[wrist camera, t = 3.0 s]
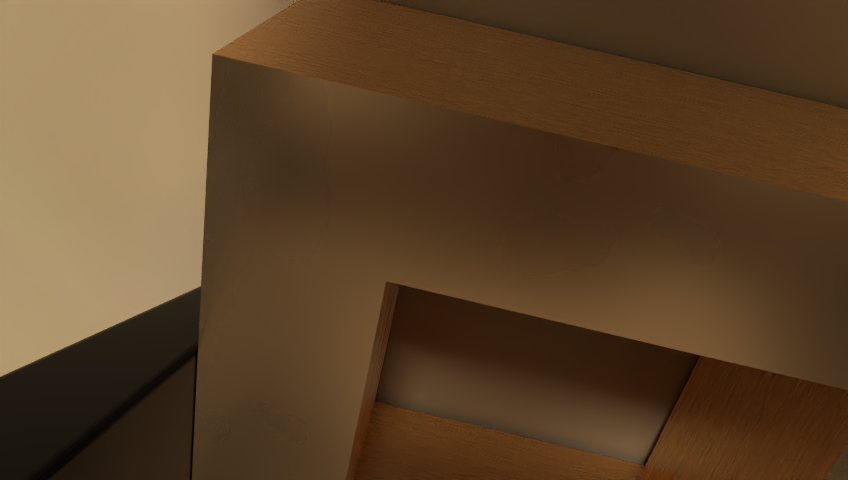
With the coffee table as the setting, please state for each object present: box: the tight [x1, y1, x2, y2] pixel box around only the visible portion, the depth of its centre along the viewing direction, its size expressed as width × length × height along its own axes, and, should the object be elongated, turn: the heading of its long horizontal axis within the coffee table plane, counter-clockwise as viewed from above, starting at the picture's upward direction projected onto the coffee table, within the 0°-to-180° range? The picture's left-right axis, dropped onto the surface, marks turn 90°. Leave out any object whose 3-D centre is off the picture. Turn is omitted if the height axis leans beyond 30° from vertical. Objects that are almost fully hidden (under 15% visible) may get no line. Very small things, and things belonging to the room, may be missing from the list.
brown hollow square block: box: [192, 0, 848, 480], centre depth 8 cm, size 7×7×3 cm
